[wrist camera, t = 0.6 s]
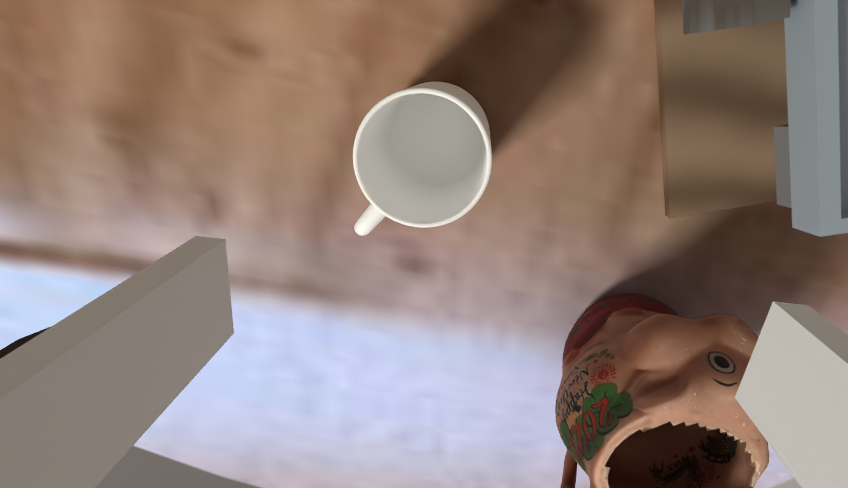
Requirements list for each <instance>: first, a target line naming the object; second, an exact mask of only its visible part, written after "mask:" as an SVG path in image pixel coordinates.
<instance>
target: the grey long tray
mask: <svg viewBox="0 0 848 488" xmlns="http://www.w3.org/2000/svg"><path fill="white" fill-rule="evenodd" d="M784 26H785V51H786V77H787V103H788V124H785V125H780V126H774V127H773V129H774V150H775V172H776V194H777V204H778V205H782V206H785V207H789V208H792V228H795V229H798V230H801V231H804V232H807V233H810V234H813V235H816V236H819V237H823V236H830V235H836V234H843V233H848V0H791V6H790V17H788V18H784Z"/></svg>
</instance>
